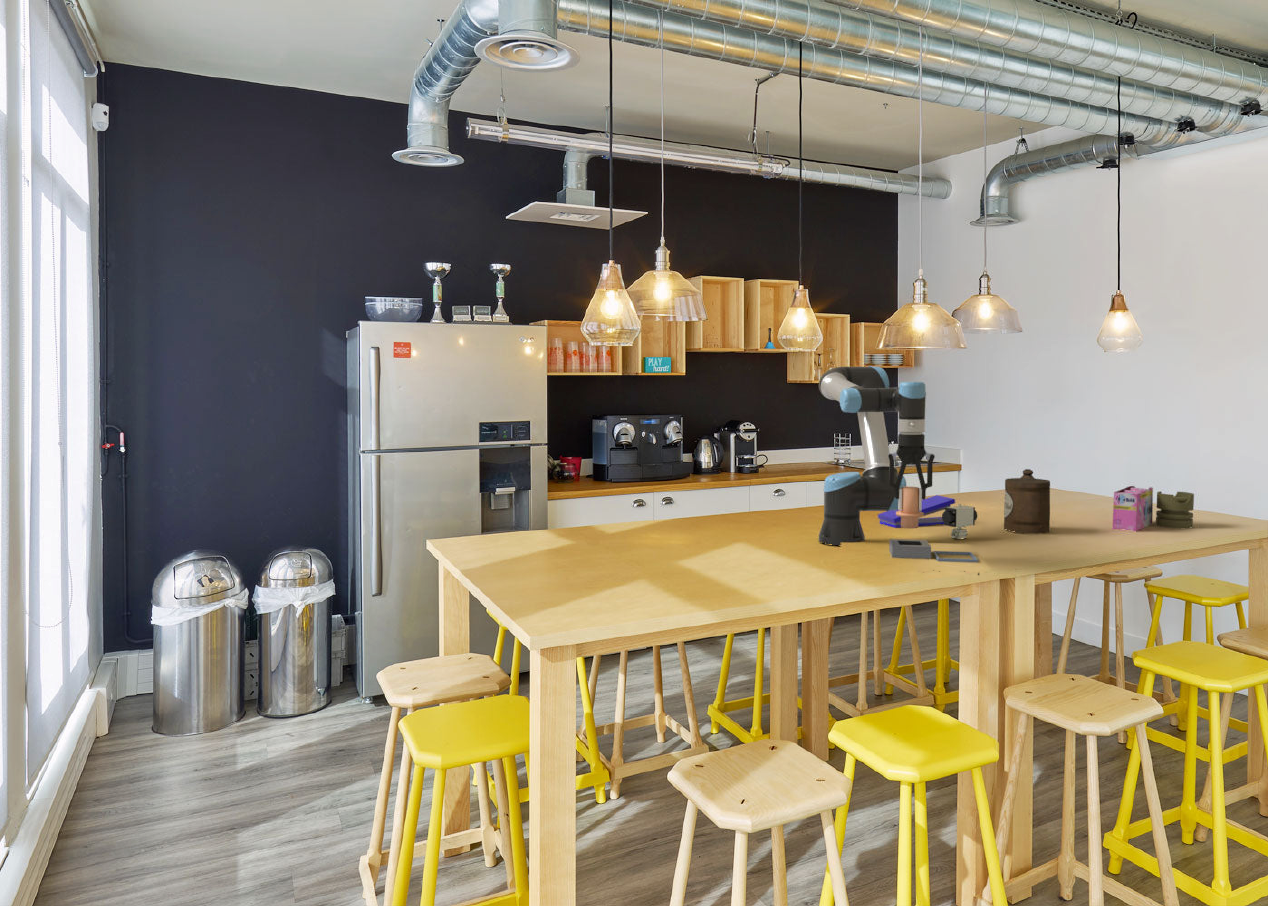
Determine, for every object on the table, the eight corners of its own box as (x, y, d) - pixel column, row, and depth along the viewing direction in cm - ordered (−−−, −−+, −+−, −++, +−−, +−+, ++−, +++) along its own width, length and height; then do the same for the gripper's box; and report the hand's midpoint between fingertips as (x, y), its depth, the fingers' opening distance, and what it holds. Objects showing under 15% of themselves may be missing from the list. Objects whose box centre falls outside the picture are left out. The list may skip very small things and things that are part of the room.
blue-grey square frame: (937, 566, 246) (937, 558, 246) (932, 558, 257) (932, 550, 257) (977, 567, 244) (977, 559, 244) (971, 559, 254) (971, 552, 254)
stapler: (958, 524, 318) (959, 498, 317) (894, 529, 309) (895, 502, 308) (938, 519, 329) (939, 494, 328) (876, 524, 320) (877, 498, 319)
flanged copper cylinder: (896, 528, 253) (897, 489, 252) (894, 524, 261) (895, 485, 259) (924, 529, 251) (925, 489, 250) (921, 524, 259) (922, 486, 258)
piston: (1200, 495, 300) (1166, 495, 302) (1198, 528, 301) (1164, 528, 303) (1184, 491, 311) (1151, 491, 313) (1182, 523, 312) (1150, 523, 314)
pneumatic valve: (977, 538, 288) (978, 503, 287) (951, 541, 283) (951, 506, 282) (965, 535, 293) (965, 501, 292) (939, 538, 288) (939, 504, 287)
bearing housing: (892, 562, 252) (892, 545, 251) (889, 555, 262) (889, 539, 262) (930, 563, 249) (931, 547, 249) (926, 556, 260) (926, 540, 260)
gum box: (1129, 521, 319) (1131, 485, 318) (1153, 523, 314) (1155, 487, 312) (1111, 529, 302) (1113, 491, 301) (1136, 532, 296) (1138, 493, 295)
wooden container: (1008, 525, 312) (1010, 466, 310) (1052, 529, 303) (1054, 468, 301) (999, 531, 300) (1001, 470, 298) (1045, 535, 291) (1046, 472, 289)
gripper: (881, 434, 251) (879, 511, 254) (944, 434, 247) (942, 512, 250) (879, 432, 259) (878, 507, 261) (941, 432, 255) (939, 508, 257)
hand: (909, 509), depth 255 cm, fingers closed on flanged copper cylinder, 5 cm apart
